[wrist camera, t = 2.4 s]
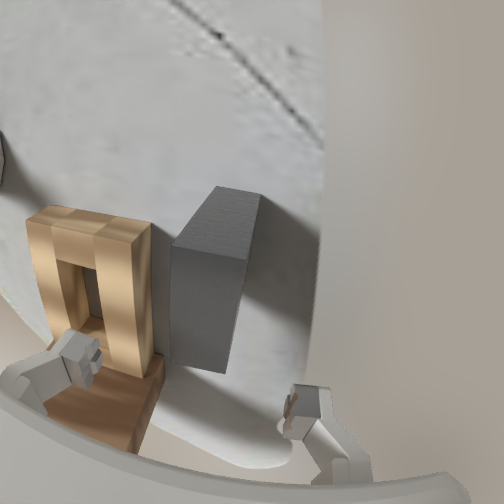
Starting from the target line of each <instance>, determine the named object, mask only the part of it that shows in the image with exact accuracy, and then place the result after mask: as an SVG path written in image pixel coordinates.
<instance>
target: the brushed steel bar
mask: <svg viewBox="0 0 504 504" xmlns="http://www.w3.org/2000/svg"><path fill="white" fill-rule="evenodd" d="M260 197H261V194H258V193H252V192H247V191H242V190H236V189H230V188H225V187H219V186H216V187H215V188H214V190H213V191H212V192H211V194H210V195H209V196H208V197H207V199H206V200H205V201H204V203H203V204H202V205H201V206H200V208H199V209H198V210H197V212H196V213H195V214H194V216H193V217H192V218H191V219H190V221H189V222H188V223H187V225H186V226H185V227H184V229H183V230H182V231H181V233H180V234H179V236H178V237H177V238H176V240H175V241H174V242H173V244H172V245H171V267H170V362H173V363H177V364H181V365H186V366H190V367H194V368H198V369H203V370H207V371H212V372H217V373H222V374H226V369H227V364H228V359H229V354H230V349H231V345H232V340H233V335H234V330H235V325H236V320H237V316H238V311H239V306H240V301H241V296H242V291H243V287H244V282H245V276H246V271H247V266H248V261H249V255H250V250H251V245H252V239H253V234H254V229H255V224H256V218H257V213H258V208H259V202H260Z"/></svg>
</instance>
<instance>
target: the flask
mask: <svg viewBox="0 0 504 504" xmlns="http://www.w3.org/2000/svg"><path fill="white" fill-rule="evenodd" d="M3 165H4V156H3V150H2V144H1V138H0V186H1V178H2V171H3Z"/></svg>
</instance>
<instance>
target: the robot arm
mask: <svg viewBox="0 0 504 504" xmlns="http://www.w3.org/2000/svg"><path fill="white" fill-rule="evenodd" d="M99 346H100V342H99V339H97V338H94V337H91V336H89V335H86V334H84V333H81V332H78V331H76V330H73V329H71V328H69V329H67V330H66V331H65V332H64V333H63V334H62V336H61V337H60V338H59V339H58V341H57V342H56V343H55V344H54V346H53V347H52V348H51V350H50V351H48V350H46V351H43V352H41V353H38V354H36V355H33V356H31V357H28V358H26V359H24V360H21V361H19V362H16V363H14V364H11V365H9V366H7V367H6V369H5V370H4V371H3V372H2V374H1V375H0V504H471V499H470V495H469V492H468V490H467V488H465V486H464V485H463V484H461V483H460V482H459V481H458V480H457V479H456V478H455V477H453V476H452V475H451V474H449V473H448V472H437V473H433V474H428V475H423V476H417V477H411V478H405V479H399V480H392V481H391V480H390V481H382V482H373V476H372V469H371V462H370V457H369V455H368V454H367V453H366V452H365V451H364V450H363V448H362V447H361V446H360V445H359V444H358V443H357V442H356V441H355V439H354V438H353V437H352V436H351V435H350V434H349V432H348V431H347V430H346V429H345V428H344V427H343V425H342V424H341V423H340V422H339V421H338V420H335V419H334V413H333V404H332V396H331V390H330V388H329V387H318V386H310V385H301V384H293V385H292V386H291V389H290V394H289V395H287V398H286V400H285V404H284V411H283V416H284V418H285V419H286V420H285V422H284V424H283V438H286V439H294V440H303V443H304V444H305V446H306V447H307V449H308V451H309V452H310V454H311V456H312V457H313V459H314V460H315V462H316V464H317V465H318V467H319V468H320V470H321V473H320V474H318V475H317V476H316V477H315V478H314V479H313V480H312V481H311V485H307V484H303V485H302V484H285V483H284V484H283V483H272V482H261V481H251V480H244V479H237V478H231V477H225V476H218V475H213V474H208V473H203V472H198V471H193V470H189V469H185V468H181V467H177V466H173V465H169V464H165V463H162V462H159V461H155V460H152V459H148V458H145V457H142V456H139V455H136V454H133V453H130V452H127V451H124V450H122V449H119V448H116V447H114V446H111V445H108V444H106V443H103V442H101V441H98V440H96V439H93V438H91V437H89V436H86V435H84V434H82V433H80V432H78V431H75V430H73V429H71V428H69V427H67V426H65V425H63V424H61V423H59V422H57V421H55V420H53V419H51V418H49V417H47V414H48V413H47V410H46V408H45V407H44V405H43V402H45V401H46V400H48V399H50V398H51V397H53V396H55V395H56V394H58V393H59V392H61V391H63V390H64V389H66V388H68V387H69V386H71V385H72V384H74V385H76V386H79V387H81V388H84V389H86V390H88V389H89V387H90V386H91V384H92V382H93V380H94V376H93V374H95V373H98V372H99V370H100V368H101V366H102V362H103V355H102V352H101V351H100V349H99Z"/></svg>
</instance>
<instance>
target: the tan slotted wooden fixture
mask: <svg viewBox="0 0 504 504" xmlns="http://www.w3.org/2000/svg"><path fill="white" fill-rule="evenodd" d="M25 221H26V228H27V234H28V240H29V246H30V251H31V256H32V261H33V266H34V271H35V275H36V279H37V283H38V287H39V291H40V295H41V299H42V302H43V306H44V309H45V313H46V316H47V319H48V322H49V326H50V329H51V332H52V335H53V338H54V340H53V341H52V343H51V344H50V345H49V347H48V348H47V349H46V350H48V351H50V350H51V348H52V347H53V346H54V344H55V343H56V342H57V341H58V339H59V338H60V337H61V336H62V334H63V333H64V332H65V331H66V330H67V329H69V328H71V329H73V330H76V331H78V332H81V333H84V334H86V335H89V336H91V337H94V338H97V339H99V342H100V346H99V349H100V351H101V352H102V355H103V362H102V366H101V368H100V370H99V372H98V373H95V374H93V376H94V380H93V382H92V384H91V386H90V387H89V389H88V390H86V389H84V388H81V387H79V386H76V385H74V384H72V385H71V386H69V387H68V388H66V389H64V390H63V391H61V392H59V393H58V394H56V395H55V396H53V397H51V398H50V399H48V400H46V401H45V402H43V405H44V407H45V408H46V410H47V413H48V414H47V417H49V418H51V419H53V420H55V421H57V422H59V423H61V424H63V425H65V426H67V427H69V428H71V429H73V430H75V431H78V432H80V433H82V434H84V435H86V436H89V437H91V438H93V439H96V440H98V441H101V442H103V443H106V444H108V445H111V446H114V447H116V448H119V449H122V450H124V451H127V452H130V453H133V454H136V455H138V452H139V449H140V446H141V443H142V441H143V438H144V435H145V432H146V429H147V427H148V424H149V421H150V418H151V416H152V413H153V410H154V407H155V405H156V402H157V399H158V396H159V394H160V391H161V388H162V386H163V383H164V380H165V370H164V355H160V354H156V353H154V341H153V324H152V302H151V223H150V222H145V221H139V220H134V219H128V218H123V217H117V216H112V215H106V214H100V213H95V212H89V211H84V210H78V209H72V208H67V207H61V206H55V205H50V206H48V207H46V208H45V209H43V210H41V211H40V212H38V213H36V214H35V215H33V216H32V217H30V218H28V219H27V220H25ZM82 266H83V267H87V268H91V269H95V270H96V272H97V280H98V288H99V295H100V301H101V308H102V314H103V319H104V320H103V319H100V318H97V317H94V316H91V315H90V311H89V306H88V300H87V295H86V289H85V283H84V276H83V270H82Z"/></svg>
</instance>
